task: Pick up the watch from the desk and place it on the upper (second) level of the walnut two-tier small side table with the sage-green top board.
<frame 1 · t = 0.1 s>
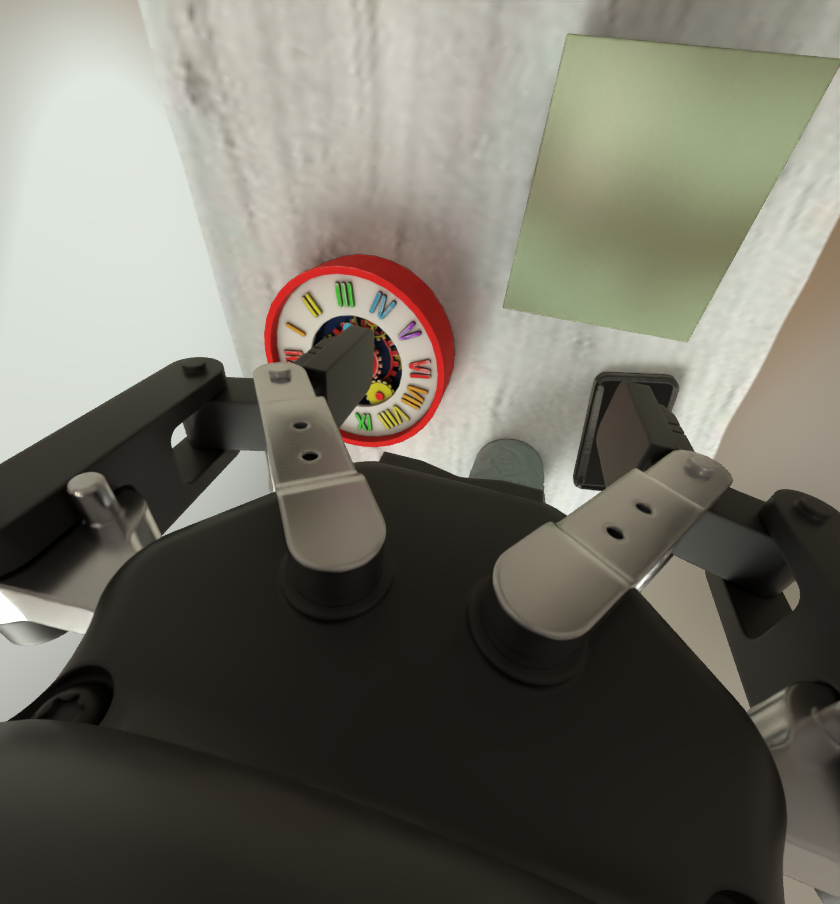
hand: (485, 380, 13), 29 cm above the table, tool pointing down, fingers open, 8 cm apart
phone: (619, 434, 44), on the table
toy clock: (370, 348, 46), on the table
grey-green cup: (506, 464, 50), on the table
small side table: (604, 196, 32), on the table
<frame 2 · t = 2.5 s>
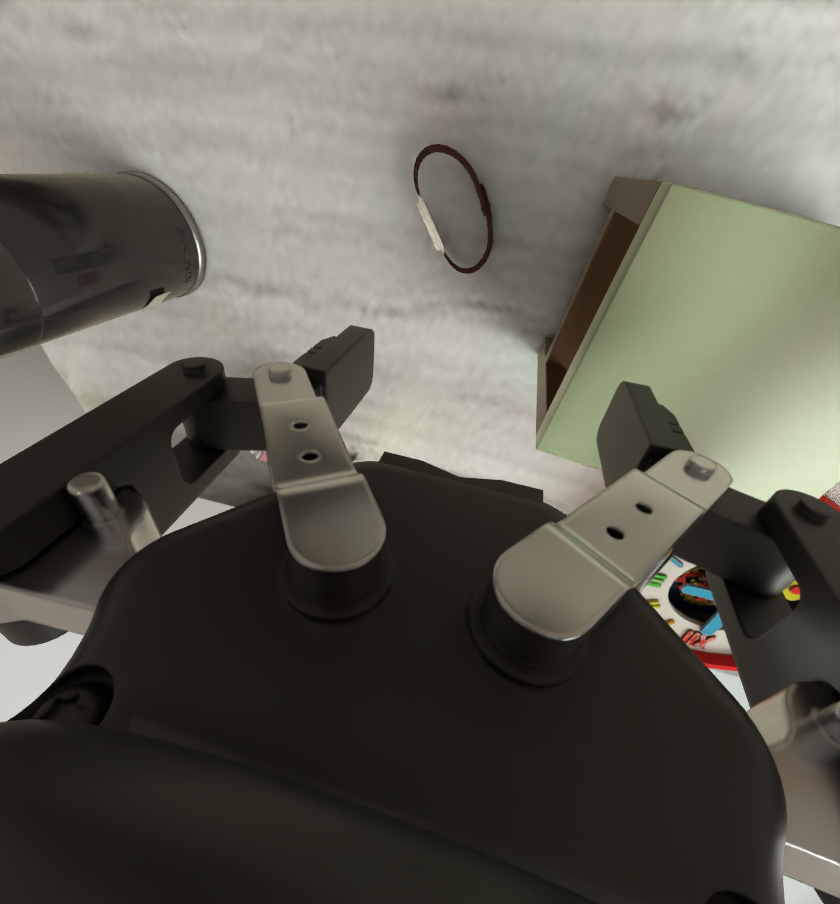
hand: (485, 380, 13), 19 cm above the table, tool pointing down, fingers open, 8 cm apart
toy clock: (716, 554, 38), on the table
small side table: (661, 303, 27), on the table
watch: (457, 210, 27), on the table
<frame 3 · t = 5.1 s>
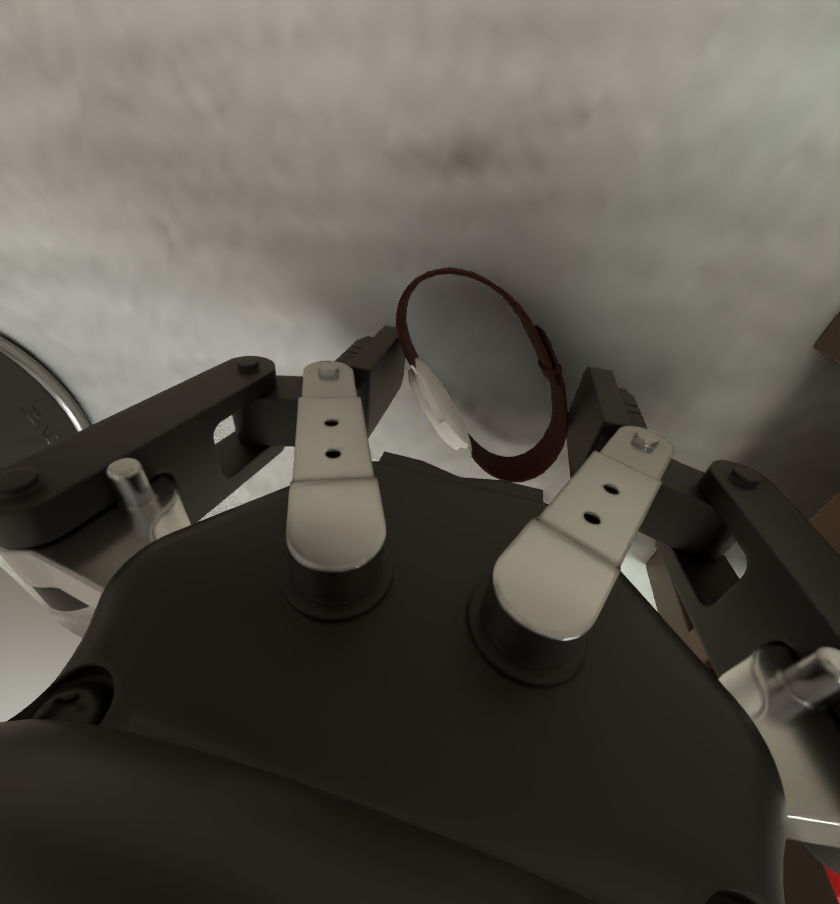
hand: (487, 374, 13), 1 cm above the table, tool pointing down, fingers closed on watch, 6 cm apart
watch: (489, 361, 14), on the table, touching gripper
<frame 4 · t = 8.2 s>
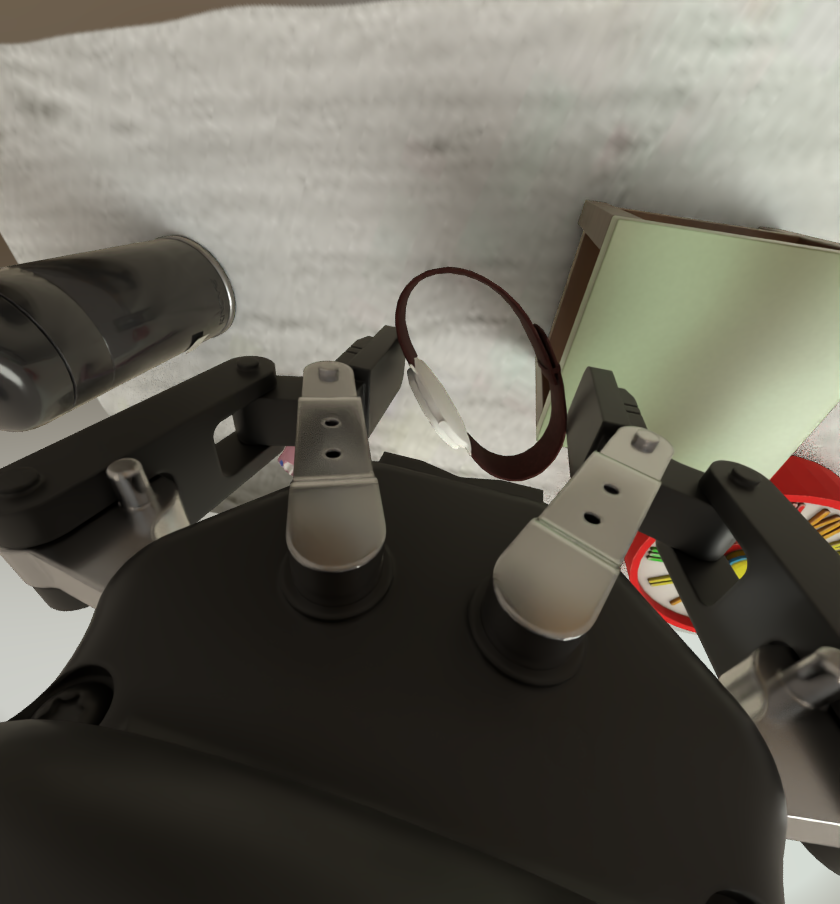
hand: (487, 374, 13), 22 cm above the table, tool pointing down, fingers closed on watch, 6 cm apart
toy clock: (725, 529, 41), on the table
small side table: (641, 303, 30), on the table
video game controller: (329, 434, 46), on the table
watch: (488, 360, 14), point 21 cm above the table, touching gripper
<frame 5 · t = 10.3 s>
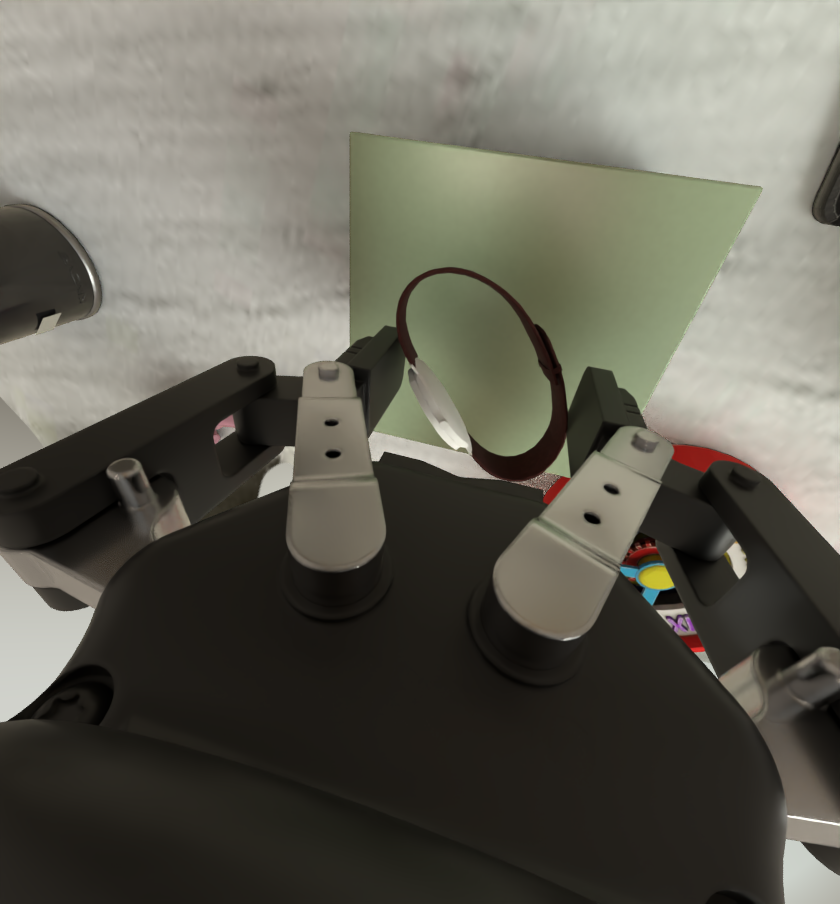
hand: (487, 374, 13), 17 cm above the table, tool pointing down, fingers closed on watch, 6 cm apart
toy clock: (645, 530, 36), on the table
small side table: (515, 271, 26), on the table
watch: (489, 360, 14), point 16 cm above the table, touching gripper
when the fingers open (14 cm above the table, at t = 11.6 s): watch stays where it is, resting on small side table.
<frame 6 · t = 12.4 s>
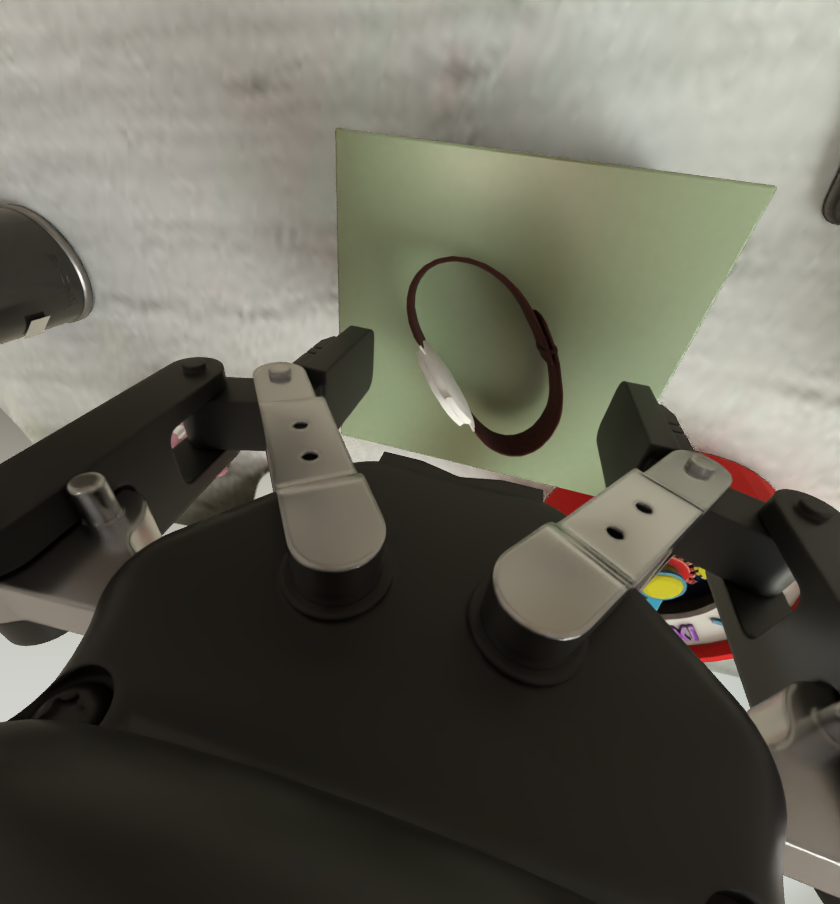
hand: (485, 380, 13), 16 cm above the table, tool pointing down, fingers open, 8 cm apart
toy clock: (647, 538, 36), on the table
small side table: (513, 273, 26), on the table
watch: (491, 345, 15), point 13 cm above the table, touching small side table
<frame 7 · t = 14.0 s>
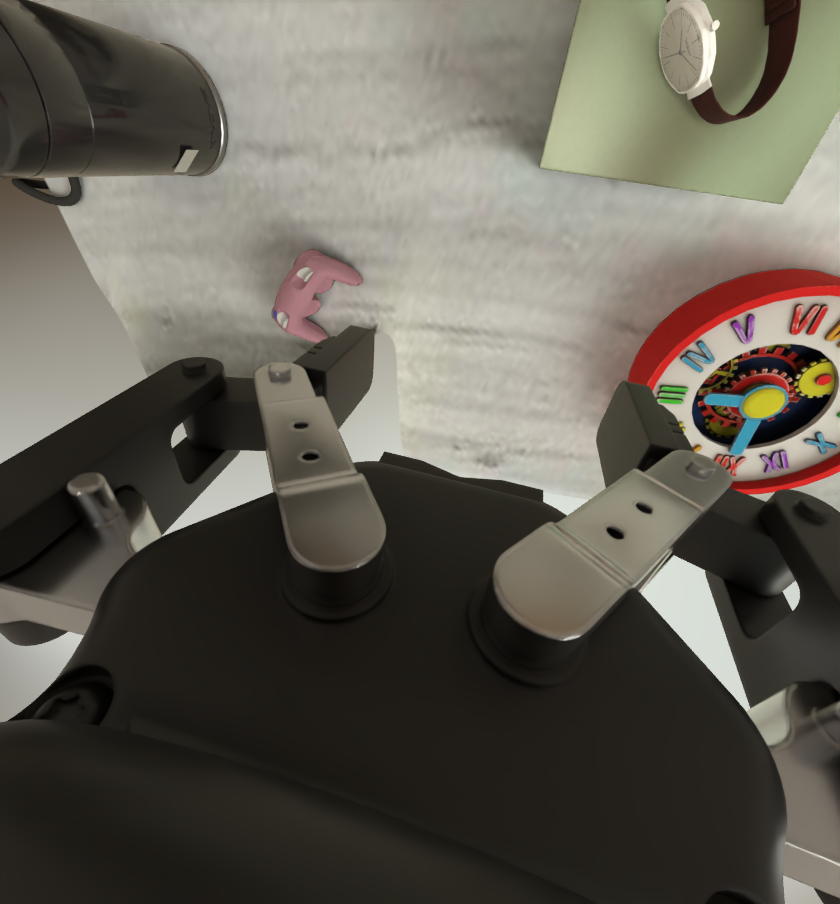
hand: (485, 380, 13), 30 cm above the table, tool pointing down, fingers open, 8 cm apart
toy clock: (739, 378, 38), on the table
small side table: (653, 80, 28), on the table
video game controller: (325, 293, 44), on the table
watch: (715, 28, 18), point 13 cm above the table, touching small side table
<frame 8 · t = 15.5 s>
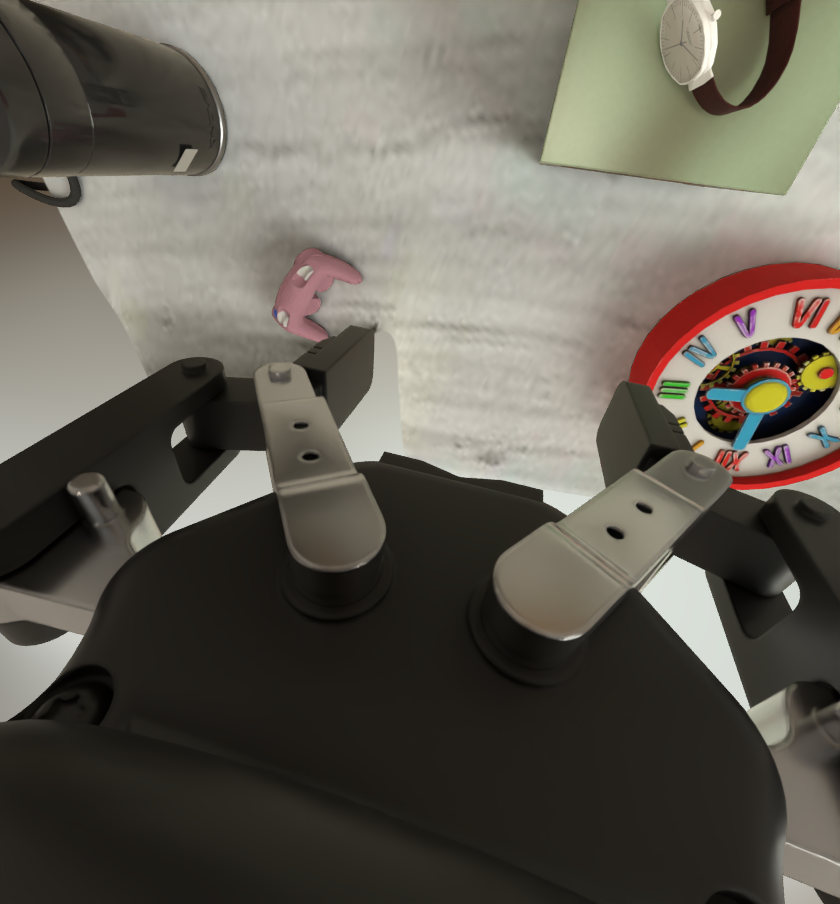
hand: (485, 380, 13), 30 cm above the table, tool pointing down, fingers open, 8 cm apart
toy clock: (741, 372, 38), on the table
small side table: (653, 74, 28), on the table
video game controller: (326, 292, 44), on the table
watch: (716, 19, 18), point 13 cm above the table, touching small side table
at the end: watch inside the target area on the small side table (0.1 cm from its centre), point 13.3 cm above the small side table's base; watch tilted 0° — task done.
